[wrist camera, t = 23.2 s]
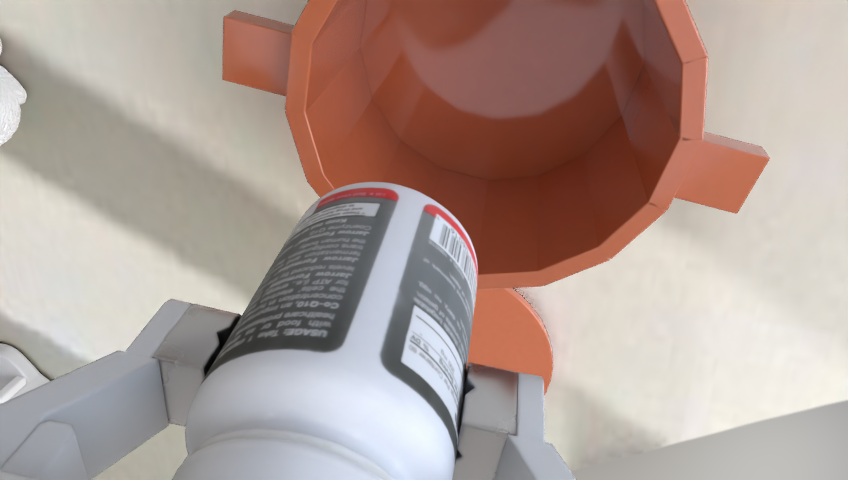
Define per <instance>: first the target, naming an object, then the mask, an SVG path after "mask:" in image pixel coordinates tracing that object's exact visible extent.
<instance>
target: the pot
mask: <svg viewBox="0 0 848 480" xmlns="http://www.w3.org/2000/svg"><path fill="white" fill-rule="evenodd" d="M707 72H708V56H707V51H706V49H705V46H704V44H703V41H702V39H701V37H700V34H699V32H698V29H697V27H696V24H695V22H694V20H693V17H692V15H691V12H690V10H689V8H688V5H687V3H686V0H309V1H308V2H307V4H306V6H305V8H304V10H303V12H302V13H301V15H300V17H299V19H298V21H297V23H296V25H295V26H294V25H290V24H286V23H282V22H278V21H275V20H271V19H267V18H263V17H259V16H255V15H251V14H248V13H244V12H240V11H236V10H234V11H232V12H231V13H229V14H227V15H226V16H224V21H223V73H222V79H223V80H225V81H229V82H233V83H237V84H241V85H245V86H248V87H252V88H256V89H260V90H264V91H268V92H271V93H275V94H279V95H283V96H286V102H285V110H286V111H285V113H286V116H287V120H288V123H289V126H290V129H291V132H292V135H293V138H294V142H295V145H296V148H297V151H298V154H299V157H300V161H301V164H302V167H303V170H304V173H305V176H306V179H307V182H308V183H309V184H310V185H311V187H312V188H313V189H314V190H315V192H316V193H317V194H318V196H319V197H320V198H321V197H323V196H324V195H326V194H327V193H329V192H331V191H333V190H335V189H338V188H340V187H343V186H347V185H351V184H355V183H363V182H385V183H392V184H397V185H401V186H404V187H407V188H411V189H413V190H416V191H418V192H420V193H422V194H424V195H426V196H428V197H430V198H431V199H433V200H435V201H436V202H437V203H439V204H440V205H442V206H443V207H444V208H446V209H447V210H448V211H449V212H450V213H451V214H452V215H453V216H454V217H455V218H456V219H457V220H458V221H459V222H460V223H461V225H462V226H463V228H464V229H465V231H466V232H467V234H468V236H469V238H470V240H471V242H472V245H473V247H474V250H475V254H476V258H477V266H478V282H477V290H482V289H501V288H519V287H538V286H543V285H547V284H550V283H552V282H555V281H558V280H560V279H563V278H565V277H568V276H570V275H573V274H575V273H578V272H581V271H583V270H586V269H588V268H591V267H593V266H596V265H598V264H601V263H604V262H606V261H609V260H610V259H612V258H613V257H614V256H615V255H616V254H617V253H619V252H620V251H621V250H622V249H623V248H624V247H626V246H627V245H628V244H629V243H630V242H631V241H632V240H634V239H635V238H636V237H637V236H638V235H639V234H640V233H642V232H643V231H644V230H645V229H646V228H647V227H649V226H650V225H651V224H652V223H653V222H654V221H655V220H657V219H658V218H659V217H660V216H661V215H662V214H663V213H665V212H666V210H668V208H669V206H670V204H671V202H672V200H673V198H674V197H675V198H678V199H682V200H686V201H690V202H694V203H698V204H701V205H705V206H709V207H713V208H717V209H721V210H724V211H728V212H732V213H738V211H739V209H740V208H741V206H742V204H743V203H744V201H745V199H746V198H747V196H748V194H749V193H750V191H751V189H752V188H753V186H754V184H755V183H756V181H757V179H758V178H759V176H760V174H761V173H762V171H763V169H764V168H765V166H766V164H767V163H768V161H769V159H770V158H769V156H768V155H767V153H766V152H765V151H764V149H763V148H762V147H761V146H757V145H753V144H749V143H745V142H742V141H738V140H734V139H730V138H726V137H722V136H718V135H715V134H711V133H707V132H704V123H705V106H706V89H707Z"/></svg>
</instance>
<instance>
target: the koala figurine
mask: <svg viewBox="0 0 848 480" xmlns="http://www.w3.org/2000/svg"><path fill="white" fill-rule="evenodd" d="M1 53H2V42H1V39H0V55H1ZM26 97H27V94H26V91H25V89H24V88H23V87H22V86H21V84H20V83H19V82H18V80H17V79H15V78H14V77H13V76H12V75H11V74H10V73H9V72H8V71H7V70H6V69H5V68H4V67H2V66H1V65H0V145H2V144H4V143H5V142H6V141H8V140H9V139H10V138H11V137H12V134H14V132H15V131H16V130H17V129H18V128H17V127H18V126H19V123H20V116H21V110H20V105H21V104H23V103H25V101H26Z"/></svg>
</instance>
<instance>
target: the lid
mask: <svg viewBox="0 0 848 480" xmlns="http://www.w3.org/2000/svg"><path fill="white" fill-rule="evenodd" d="M469 362H471V363H476V364H481V365H486V366H491V367H496V368H501V369H506V370H511V371H516V372H521V373H527V374H532V375H537V376H542V378H543V380H544V395H545V393H546V392H547V389H548V387H549V384H550V381H551V376H552V370H553V355H552V347H551V342H550V338H549V336H548V333H547V330H546V328H545V326H544V324H543V322H542V321H541V319H540V317H539V315H538V314H537V313H536V311H535V310H534V309H533V308H532V306H531V305H530V304H529V303H528V302H527V301H526V300H525V299H524V298H523V297H522V296H521V295H520V294H519V293H518V292H517V291H515V290H514V289H513V288H501V289H482V290H477V291H476V300H475V307H474V314H473V323H472V332H471V338H470V346H469V355H468V362H467V367H468V364H469ZM466 371H467V370H466Z"/></svg>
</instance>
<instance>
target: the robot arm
mask: <svg viewBox="0 0 848 480" xmlns="http://www.w3.org/2000/svg"><path fill="white" fill-rule="evenodd" d="M241 317H242V316H241V315H240V314H236V313H232V312H227V311H223V310H219V309H215V308H210V307H206V306H202V305H198V304H191V303H187V302H183V301H179V300H174V299H170V300H168V301H167V302H165V303H164V304H163V305H162V306H161V308H160V309H159V310H158V311H157V313H156V314H155V315H154V316H153V318H152V319H151V320H150V321H149V323H148V324H147V325H146V326H145V328H144V329H143V330H142V331H141V333H140V334H139V335H138V336H137V337H136V339H135V340H134V341H133V342H132V344H131V345H130V346H129V347H128V349H127V350H126V351H125V352H123V351H116V352H114V353H112V354H109V355H107V356H105V357H103V358H101V359H98V360H96V361H94V362H92V363H89V364H87V365H85V366H83V367H81V368H78V369H76V370H74V371H72V372H70V373H67V374H65V375H63V376H61V377H59V378H56V379H54V380H52V381H50V380H48V379H47V378H46V377H44V376H43V375H42V374H41V373H39V371H38V370H37V369H36V368H35V367H34V366H33V365H32V364H31V362H30V361H29V360H28V359H27V358H26V357H25V356H24V355H23V354H22V353H20V352H19V351H18V350H17V349H15V348H13V347H12V346H9V345H7V344H2V343H0V480H91V479H93V478H94V477H95V476H97V475H98V474H100V473H101V472H103V471H104V470H105V469H107V468H108V467H110V466H111V465H113V464H114V463H116V462H117V461H118V460H120V459H121V458H123V457H124V456H126V455H127V454H128V453H130V452H131V451H133V450H134V449H136V448H137V447H139V446H140V445H141V444H143V443H144V442H146V441H147V440H149V439H150V438H151V437H153V436H154V435H156V434H157V433H159V432H160V431H162V430H163V429H164V428H166V427H167V426H168V425H169V424H168V423H171V424H176V425H181V426H186V421H187V417H188V412H189V409H190V407H191V404H192V401H193V399H194V397H195V395H196V393H197V391H198V389H199V387H200V385H201V383H202V381H203V379H204V378H205V376H206V374H207V373H208V371H209V369H210V368H211V366H212V365H213V363H214V362H215V360H216V358H217V357H218V355H219V353H220V351H221V350H222V348H223V346H224V345H225V343H226V342H227V340H228V338H229V337H230V335H231V333H232V331H233V330H234V328H235V326H236V325H237V323H238V322H239V320H240V318H241ZM452 480H576V478H575V477H574V475H573V474H572V472H571V471H570V469H569V468H568V466H567V465H566V464H565V462H564V461H563V459H562V458H561V456H560V455H559V453H558V452H557V450H556V449H555V447H554V446H553V445H552V444H550V443H546V442H545V425H544V380H543V378H542V376H537V375H532V374H527V373H521V372H516V371H511V370H506V369H501V368H496V367H491V366H486V365H481V364H476V363H471V362H469V364H468V367H467V371H466V378H465V385H464V393H463V404H462V410H461V417H460V425H459V432H458V445H457V454H456V463H455V468H454V473H453V478H452Z"/></svg>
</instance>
